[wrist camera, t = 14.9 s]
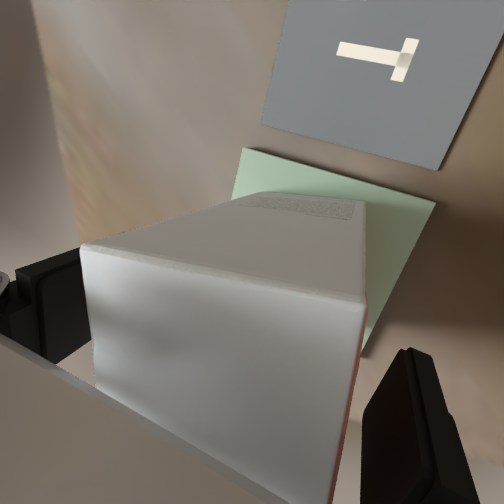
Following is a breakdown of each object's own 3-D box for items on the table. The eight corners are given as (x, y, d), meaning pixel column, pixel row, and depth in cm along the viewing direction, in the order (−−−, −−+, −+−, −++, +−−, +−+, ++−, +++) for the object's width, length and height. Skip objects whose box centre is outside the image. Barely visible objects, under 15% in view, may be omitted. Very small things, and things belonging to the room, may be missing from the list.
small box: (347, 325, 19) (314, 605, 7) (254, 305, 21) (107, 494, 9) (369, 197, 16) (375, 302, 4) (260, 188, 18) (65, 242, 6)
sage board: (247, 147, 18) (243, 147, 18) (432, 201, 16) (435, 203, 15) (214, 294, 23) (209, 298, 22) (355, 356, 20) (355, 363, 19)
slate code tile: (328, -160, 13) (328, -164, 13) (594, -159, 11) (598, -164, 10) (261, 124, 18) (259, 124, 18) (436, 170, 15) (437, 170, 15)
